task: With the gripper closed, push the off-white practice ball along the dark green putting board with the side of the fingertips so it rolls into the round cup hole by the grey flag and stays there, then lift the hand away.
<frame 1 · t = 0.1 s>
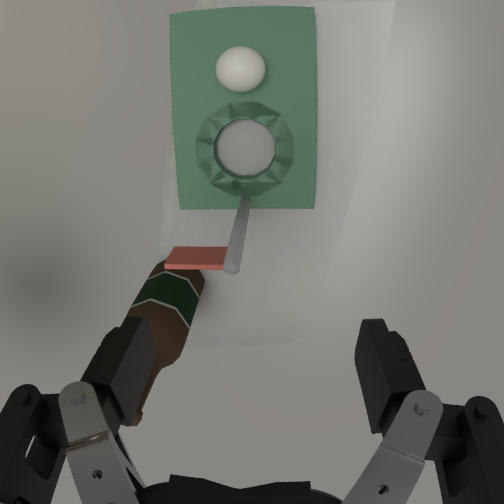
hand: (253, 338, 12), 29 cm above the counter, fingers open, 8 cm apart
beer bottle: (179, 278, 45), on the counter
practice ball: (240, 68, 28), point 4 cm above the counter, touching putting board
putting board: (244, 105, 34), on the counter
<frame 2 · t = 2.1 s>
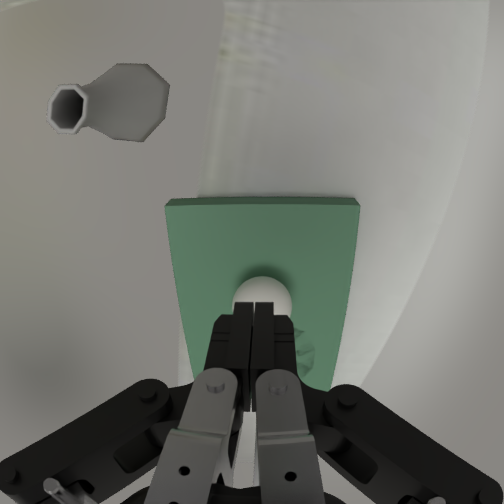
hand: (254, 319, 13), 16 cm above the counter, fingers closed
flask: (131, 101, 24), on the counter
practice ball: (262, 306, 27), point 4 cm above the counter, touching putting board
putting board: (263, 311, 33), on the counter
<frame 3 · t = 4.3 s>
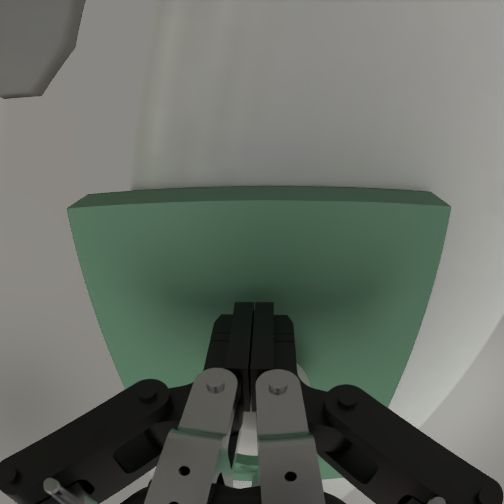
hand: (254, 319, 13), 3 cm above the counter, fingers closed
flask: (32, 34, 10), on the counter
practice ball: (255, 401, 13), point 4 cm above the counter, touching gripper, putting board
putting board: (259, 382, 19), on the counter
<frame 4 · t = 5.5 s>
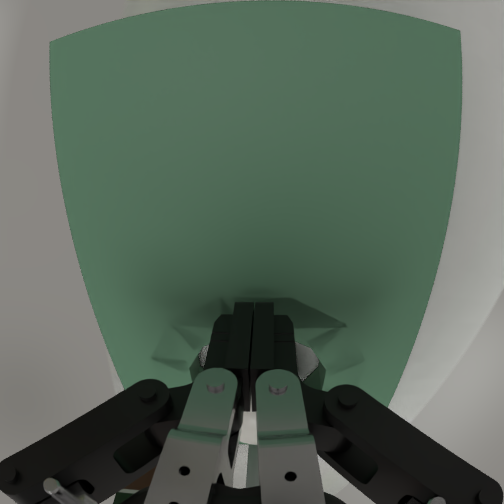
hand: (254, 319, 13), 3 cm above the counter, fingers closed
beer bottle: (162, 466, 26), on the counter
practice ball: (257, 400, 16), point 2 cm above the counter, tilted 137°
putting board: (257, 282, 15), on the counter
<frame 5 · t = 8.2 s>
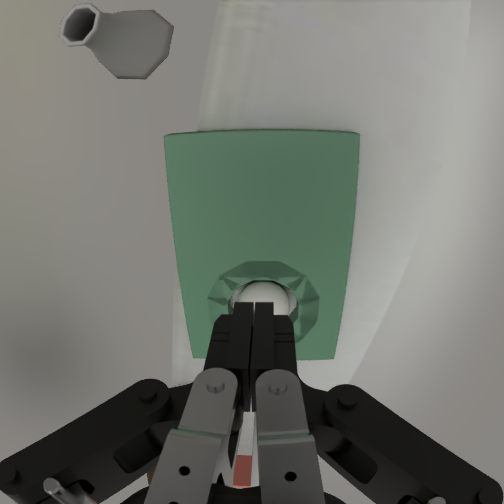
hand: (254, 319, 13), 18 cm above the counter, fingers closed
flask: (136, 44, 23), on the counter
practice ball: (263, 306, 31), point 2 cm above the counter, tilted 178°
putting board: (263, 256, 31), on the counter
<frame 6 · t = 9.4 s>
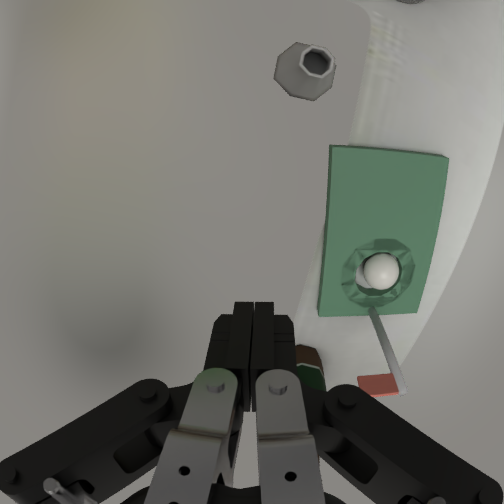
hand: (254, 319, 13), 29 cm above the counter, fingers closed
flask: (304, 71, 33), on the counter
beer bottle: (298, 358, 53), on the counter
practice ball: (381, 271, 41), point 2 cm above the counter, tilted 179°
putting board: (380, 235, 42), on the counter
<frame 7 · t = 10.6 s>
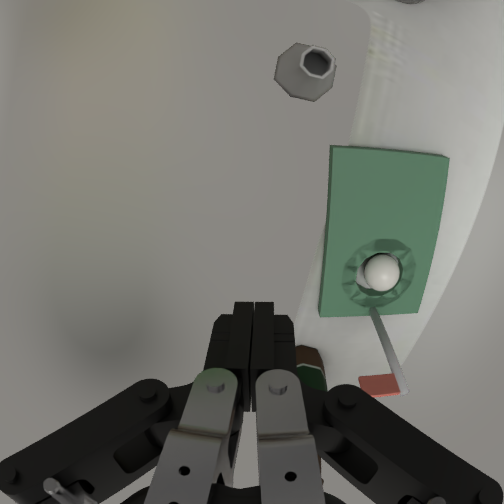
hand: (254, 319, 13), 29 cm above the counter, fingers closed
flask: (305, 72, 33), on the counter
beer bottle: (300, 359, 53), on the counter
practice ball: (381, 272, 41), point 2 cm above the counter, tilted 174°
putting board: (381, 236, 42), on the counter
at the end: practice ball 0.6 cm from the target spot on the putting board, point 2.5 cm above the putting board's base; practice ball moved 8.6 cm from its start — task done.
